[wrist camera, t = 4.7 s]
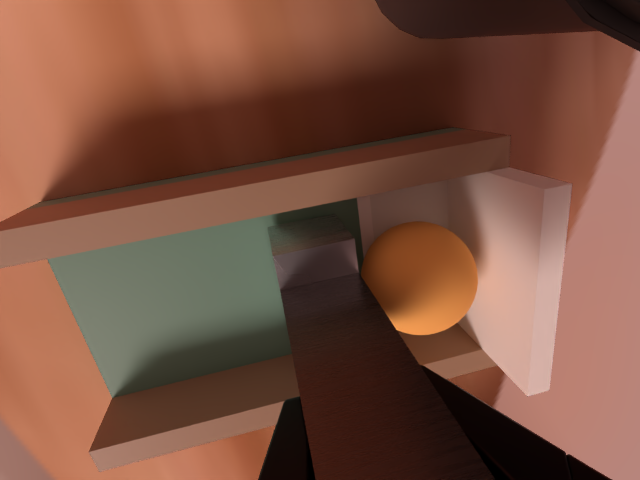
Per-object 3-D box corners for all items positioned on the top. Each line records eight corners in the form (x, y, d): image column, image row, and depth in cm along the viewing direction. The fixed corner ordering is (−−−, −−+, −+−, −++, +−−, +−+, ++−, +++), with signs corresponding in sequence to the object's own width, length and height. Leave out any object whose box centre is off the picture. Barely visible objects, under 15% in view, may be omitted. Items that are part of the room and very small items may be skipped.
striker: (349, 322, 16) (531, 705, 6) (291, 336, 15) (375, 767, 5) (334, 213, 14) (560, 501, 4) (267, 226, 13) (331, 577, 4)
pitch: (455, 317, 18) (547, 412, 13) (127, 398, 16) (68, 551, 11) (452, 127, 15) (577, 144, 9) (40, 202, 13) (-112, 279, 7)
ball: (348, 344, 14) (389, 289, 17) (463, 373, 12) (486, 305, 15) (334, 244, 12) (382, 204, 15) (463, 257, 10) (489, 207, 13)
